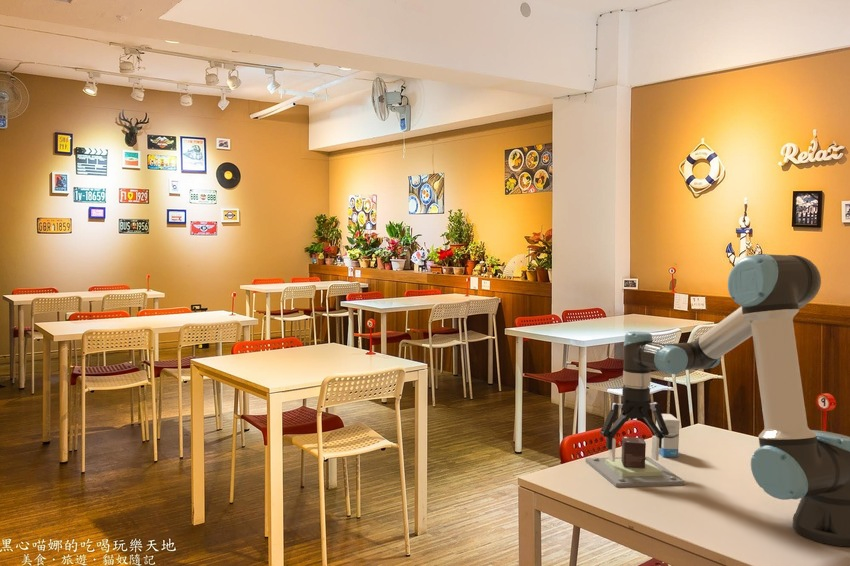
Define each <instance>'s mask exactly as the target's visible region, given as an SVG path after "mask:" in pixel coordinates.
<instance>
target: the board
mask: <svg viewBox="0 0 850 566" xmlns="http://www.w3.org/2000/svg"><path fill="white" fill-rule="evenodd" d="M621 458H622V456H618V457H616V456H615V462H612V461H611V460H609V457H589V458H588V457H585V461H584V462H585V463H586V464H588V465H589V466H590V467H591V468H593V470H595V471H596V472H597V473H598V474H600V475H601V476H602V477H604V479H605V480H607V482H609V483H610V484H612V486H613V487H615V488H620V487H621V488H626V487H628V488H629V487H655V486H684V485H686V480H684V479H683V478H682V477H680V476H679V475H676V474H675V473H673V472H672V471H671V470H669V469H667V468H666V467H665V466H663V465H661V464H660V463H659V462H657V461H656V460H654V459H653V458H652V457H650V456H645V468H632V467H624V466H623V464H622V461H621Z"/></svg>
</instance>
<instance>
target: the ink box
mask: <svg viewBox="0 0 850 566" xmlns="http://www.w3.org/2000/svg"><path fill="white" fill-rule="evenodd" d="M661 415H662V417H663V420H664V422H665V425H666V427H667V430H668V432H669V434H668V435H665V436H664V438H662V447H661V448H659V455H661V457H663V458H679V445H680V444H679V443H680V442H679V439H680V420H679V419H678V418H676V417H675V416H674V415H673V414H671V413H661ZM655 425H656V426H657V428H658V429H659V430H660V428H659V426H658V423H657V421H656V420H655ZM654 436H656V435H655V434H654Z"/></svg>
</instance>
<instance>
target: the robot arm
mask: <svg viewBox="0 0 850 566" xmlns="http://www.w3.org/2000/svg"><path fill="white" fill-rule="evenodd" d="M821 284H822V277H821V273H820V271H819V269H818V267H817V265H815V264H814V262H812V261H811V260H810V259H809V258H807V257H804V256H801V255H797V254H796V255H795V254H787V255H785V254H768V253H767V254H766V253H762V254H753V255H747V256H745V257H743V258H741V259H740V260H738V261H737V262H736V263H735V264H734V267H733V268H732V269H731V270H730V272H729V274H728V279H727V291H728V294H729V296H730V298H731V299H732V300H733V301H734V303H736V304H737V305H739V307H738V308H737V309H735V310H734V311H733V312H732V313H730V314H729V315H728V316H726V317H725V318H723V319H722V320H721V321H720V322H718V323H717V324H715V325H714V326H713V327H711V328H710V329H709V330H707V331H706V332H705V333H703V334H702V335H700V336H699V337H697V338H696V339H695V340H693V341H691V342H681V343H680V342H677V343H661V342H654V340H653V335H652V334H651V333H650V332H646V331H627V332H626V333H625V335H624V342H623V371H622V384H623V386H622V393H621V394H622V395H621V398H622V400H621V403H616V402H615V401H613V402H612V403H610V410H609V413H608V414H607V416H606V419H605V421H604V422H603V425H602V427H601V429H600V431H599V434H600V435H601V436H603V437H605V439H606V441H605V448H606V449H608V458H609V460H611V461H612V462H615V458H616V444H617V441H616V438H615V436H616V435H617V434H618V432H619V431H620V429H622V427H623V426H624V424H625V423H626V422H627V421H629V420H630V419H631V420H635V419H636V420H637V419H638V420H642V419H643V420H644V422H646V424H647V425H648V427H649V428H650V429H651V431H652V432H653V434H654V435H652V439H651V459H652V460H654V461H655V462H657V461H659V455H660V454H659V448H661V447H662V438H664V436H665V435H668V434H669V432H668V430H667V427H666V425H665V422H664V420H663V417H662V415H661V414H662V413H661V405H660V403H658V402H656V401H653V402H650V399H651V393H650V392H651V388H650V386H651V376H652V374H651V373H652V370H654V371H656V372H657V371H658V372H660V373H664V374H667V375H668V374H671V375H678V374H681V373H682V372H683V371H691V370H693V371H694V370H708V369H711V368H716V367H717V366H718V365H719V364H720V363H721V360H722V357H723V356H725V354H727V353H729V352H730V351H732V350H733V349H735V348H736V347H738V346H739V345H740V344H742V343H744V342H745V341H747V340H748V339H750V338H751V337H752V341H753V342H752V343H753V349H754V357H755V363H756V371H757V372H756V373H757V379H758V386H759V394H760V400H761V408H762V409H761V411H762V417H763V424H764V425H763V426H764V427H763V428H764V429H763V430H762V431H761V432H760V433H759V434H758V444H759V447H758V448H756V450H755V451H754V452H753V455H751V457H750V470H751V473H752V476H753V479H754V480H755V482H756V483H757V485H758V486H759V487H760V488H761V489H762V490H763V491H764V493H766V494H767V495H768V496H770V497H772V498H774V499H777V500H783V501H784V500H786V501H787V500H800V501H799V503H798V506H797V508H796V510H795V513H794V514H793V515H792V528H793V530H794V531H795V532H796V533H797V534H799V535H801V536H803V537H805V538H807V539H809V540H813V541H815V542H818V543H822V544H825V545H832V546H836V547H837V546H838V547H845V548H846V547H848V548H849V547H850V436H848V435H844V434H841V433H835V432H831V431H826V430H816V429H810V427H809V426H808V420H807V413H806V406H805V400H804V391H803V385H802V384H803V382H802V376H801V371H800V364H799V355H798V350H797V349H798V348H797V341H796V336H795V334H796V333H795V327H794V317H795V316H796V315H797V314H798V313H799V312H800V309H802V308H804V307H805V306H806V305H808V304H810V302H812V301H813V300H814V298H815V297H817V295H818V293H819V291H820V288H821V286H822V285H821ZM621 410H622V411H621ZM649 410H651V411H652V413H653V416H654V418H655V422H654V421H653V419H652V418H651V416H650V415H649V413H648V412H649ZM619 411H621V413H619ZM618 413H619V417H618ZM616 417H618V418H616ZM656 421H657V423H658V426H659V428H660V430H659V429H658V428H657V426H656ZM655 435H656V436H655Z"/></svg>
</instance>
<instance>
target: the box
mask: <svg viewBox="0 0 850 566" xmlns="http://www.w3.org/2000/svg"><path fill="white" fill-rule="evenodd" d="M646 445H647V444H646V440H645V439H644V438H643V437H633V436H621V457H622V458H621V461H622V464H623V466H624V467H632V468H645V457H646V449H647V448H646V447H647V446H646Z"/></svg>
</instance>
